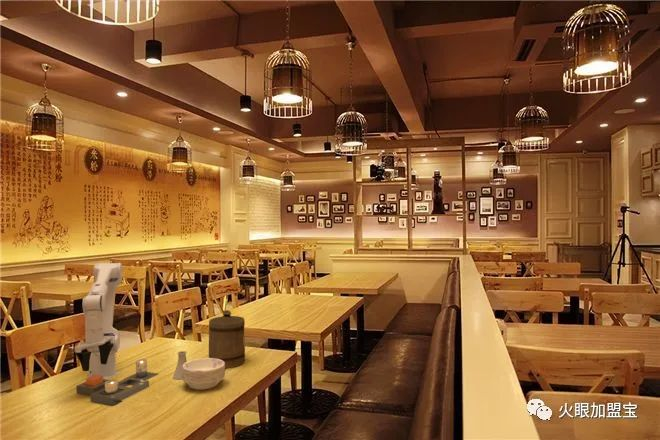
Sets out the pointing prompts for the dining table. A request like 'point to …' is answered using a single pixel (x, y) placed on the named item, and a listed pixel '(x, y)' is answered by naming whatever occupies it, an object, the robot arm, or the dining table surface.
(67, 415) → the dining table surface
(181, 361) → the flask
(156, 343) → the dining table surface
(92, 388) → the button housing
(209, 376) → the paper bowls
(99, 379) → the button
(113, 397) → the grey flat rectangular frame
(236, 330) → the wooden container
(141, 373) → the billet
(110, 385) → the light bulb
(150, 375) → the rubber mat
